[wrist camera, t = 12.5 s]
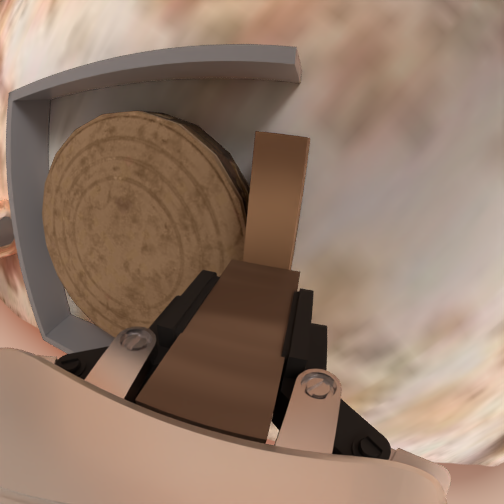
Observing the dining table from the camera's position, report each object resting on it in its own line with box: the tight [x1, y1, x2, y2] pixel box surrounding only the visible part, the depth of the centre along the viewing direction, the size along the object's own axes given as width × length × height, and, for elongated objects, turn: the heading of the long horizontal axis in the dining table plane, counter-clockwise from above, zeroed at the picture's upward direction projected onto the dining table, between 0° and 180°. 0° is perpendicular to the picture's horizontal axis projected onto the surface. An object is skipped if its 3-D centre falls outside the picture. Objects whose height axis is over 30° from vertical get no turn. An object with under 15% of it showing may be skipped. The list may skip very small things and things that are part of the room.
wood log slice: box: [42, 111, 250, 338], centre depth 17 cm, size 16×16×3 cm
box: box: [6, 44, 302, 354], centre depth 17 cm, size 22×20×4 cm
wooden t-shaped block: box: [135, 131, 310, 444], centre depth 11 cm, size 14×3×12 cm, turn 174°
